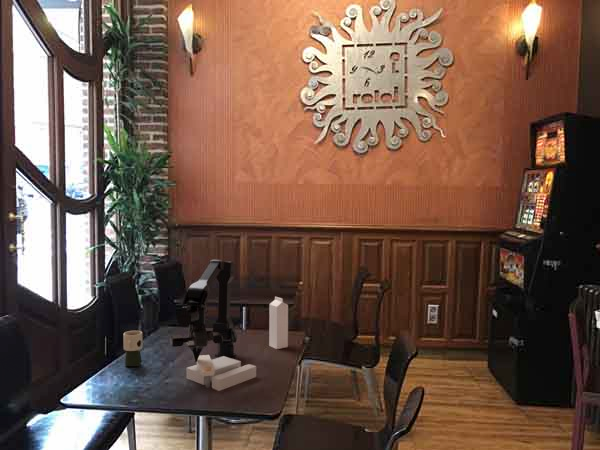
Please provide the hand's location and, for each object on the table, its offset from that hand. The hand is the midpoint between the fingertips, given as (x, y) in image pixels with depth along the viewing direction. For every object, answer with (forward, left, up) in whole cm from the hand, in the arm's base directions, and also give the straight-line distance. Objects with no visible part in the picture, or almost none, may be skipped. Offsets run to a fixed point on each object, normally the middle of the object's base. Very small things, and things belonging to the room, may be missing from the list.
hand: (195, 362), depth 195 cm
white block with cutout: (+8, +5, -5) cm, 11 cm away
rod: (+10, +7, -5) cm, 13 cm away
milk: (-2, +47, -6) cm, 48 cm away
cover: (+5, +1, -1) cm, 5 cm away
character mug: (-28, -9, -6) cm, 30 cm away
